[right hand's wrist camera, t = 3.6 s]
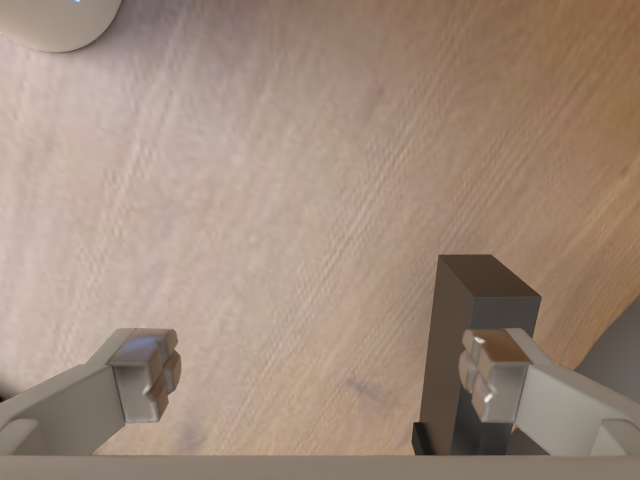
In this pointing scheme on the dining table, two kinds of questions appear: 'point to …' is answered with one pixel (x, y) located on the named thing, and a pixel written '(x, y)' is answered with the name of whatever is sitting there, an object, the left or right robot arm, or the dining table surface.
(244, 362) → the dining table surface
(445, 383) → the bar
